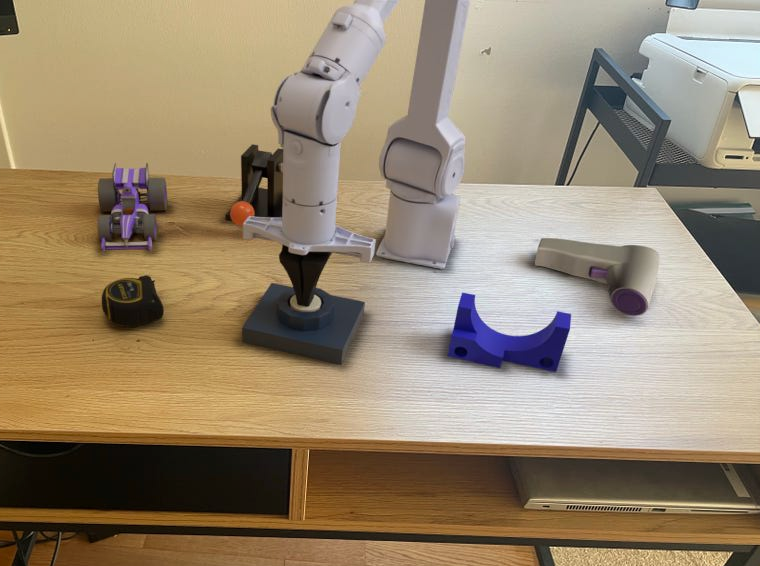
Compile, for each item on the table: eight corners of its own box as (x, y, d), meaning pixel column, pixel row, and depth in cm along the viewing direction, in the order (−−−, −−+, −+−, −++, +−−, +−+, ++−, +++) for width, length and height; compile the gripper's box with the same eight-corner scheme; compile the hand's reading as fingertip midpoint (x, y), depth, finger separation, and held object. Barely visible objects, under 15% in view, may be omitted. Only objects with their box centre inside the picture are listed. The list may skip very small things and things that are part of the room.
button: (324, 308, 88) (324, 295, 87) (315, 325, 85) (315, 312, 84) (295, 302, 89) (295, 289, 87) (285, 318, 86) (285, 306, 85)
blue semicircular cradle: (447, 356, 85) (455, 313, 81) (453, 334, 88) (462, 292, 84) (555, 380, 82) (569, 337, 78) (557, 356, 85) (571, 313, 81)
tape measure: (166, 327, 88) (163, 301, 86) (108, 336, 86) (103, 310, 84) (156, 296, 93) (153, 270, 91) (101, 304, 91) (96, 279, 89)
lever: (252, 233, 103) (247, 218, 100) (229, 228, 104) (224, 213, 101) (278, 166, 108) (275, 150, 105) (256, 163, 109) (253, 146, 106)
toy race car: (91, 253, 101) (83, 210, 97) (104, 202, 112) (98, 162, 108) (162, 252, 101) (157, 209, 97) (168, 201, 113) (164, 161, 109)
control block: (363, 316, 91) (366, 289, 88) (341, 365, 83) (343, 337, 81) (271, 297, 93) (271, 270, 91) (242, 342, 86) (241, 314, 84)
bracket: (276, 231, 106) (277, 171, 101) (225, 221, 108) (223, 161, 102) (298, 201, 114) (300, 143, 108) (250, 192, 116) (249, 135, 110)
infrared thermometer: (538, 257, 104) (654, 277, 99) (521, 301, 95) (647, 325, 90) (544, 227, 101) (663, 246, 96) (527, 270, 93) (657, 293, 87)
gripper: (231, 198, 76) (234, 307, 84) (368, 223, 72) (357, 334, 81) (255, 171, 81) (256, 275, 90) (384, 192, 78) (372, 299, 86)
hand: (305, 301), depth 86 cm, fingers closed, pressing on button
